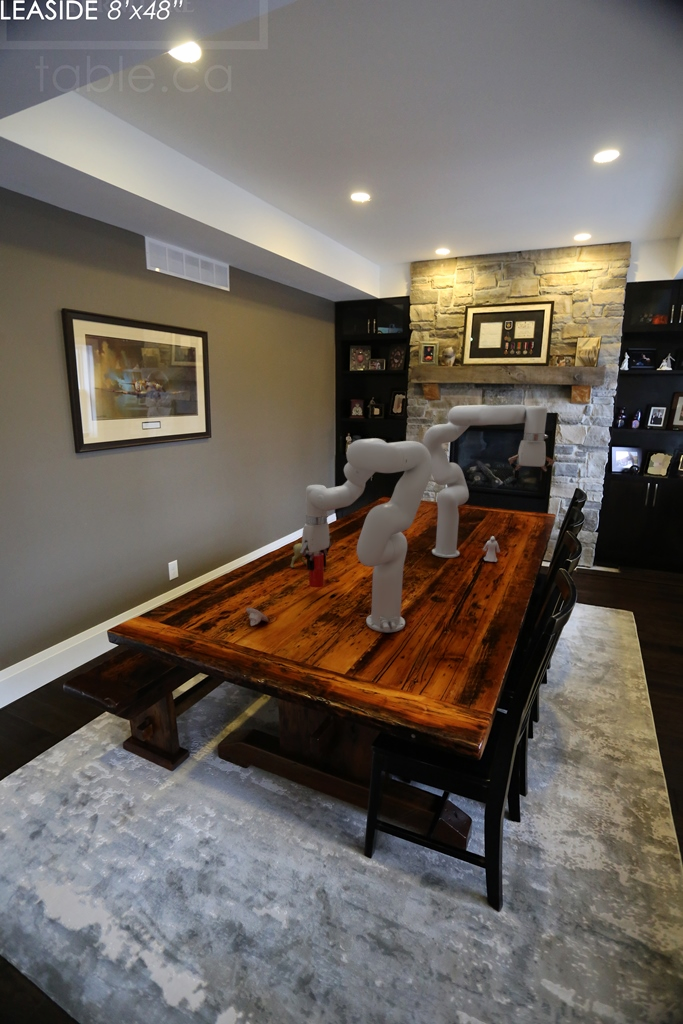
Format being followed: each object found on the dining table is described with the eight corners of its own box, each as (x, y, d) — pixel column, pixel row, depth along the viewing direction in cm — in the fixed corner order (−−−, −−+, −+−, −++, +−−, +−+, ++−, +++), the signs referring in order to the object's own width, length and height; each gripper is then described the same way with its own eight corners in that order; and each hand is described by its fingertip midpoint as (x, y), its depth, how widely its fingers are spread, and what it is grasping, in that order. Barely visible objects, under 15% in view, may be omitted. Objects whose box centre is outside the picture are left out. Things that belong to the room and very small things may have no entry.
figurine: (481, 562, 222) (483, 536, 219) (482, 556, 230) (484, 531, 227) (499, 564, 220) (501, 538, 217) (499, 558, 228) (501, 533, 225)
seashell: (251, 634, 162) (235, 615, 161) (262, 623, 165) (246, 604, 164) (262, 630, 156) (245, 610, 155) (273, 618, 159) (257, 599, 158)
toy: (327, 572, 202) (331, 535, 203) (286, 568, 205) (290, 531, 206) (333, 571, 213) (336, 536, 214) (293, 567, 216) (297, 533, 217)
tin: (320, 581, 187) (320, 551, 184) (325, 586, 182) (325, 555, 179) (307, 583, 185) (307, 552, 182) (311, 588, 180) (311, 556, 178)
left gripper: (326, 513, 186) (325, 559, 191) (291, 521, 174) (291, 571, 179) (340, 517, 181) (340, 564, 186) (305, 526, 169) (306, 576, 174)
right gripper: (554, 437, 200) (549, 479, 204) (509, 436, 203) (505, 477, 207) (559, 439, 193) (553, 483, 197) (512, 437, 195) (508, 480, 200)
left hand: (316, 567), depth 182 cm, fingers closed on tin, 5 cm apart
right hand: (528, 480), depth 202 cm, fingers open, 9 cm apart
